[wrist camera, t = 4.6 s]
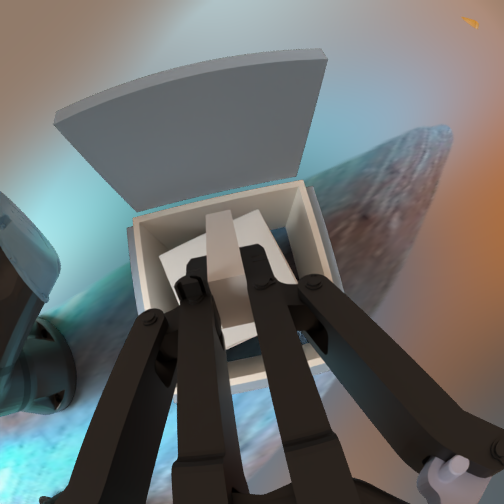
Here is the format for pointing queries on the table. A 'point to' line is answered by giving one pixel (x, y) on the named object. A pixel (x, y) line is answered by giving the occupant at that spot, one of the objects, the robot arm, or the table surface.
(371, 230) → the table surface
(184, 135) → the flap
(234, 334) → the supplement box
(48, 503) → the milk frother
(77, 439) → the table surface
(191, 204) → the carton
